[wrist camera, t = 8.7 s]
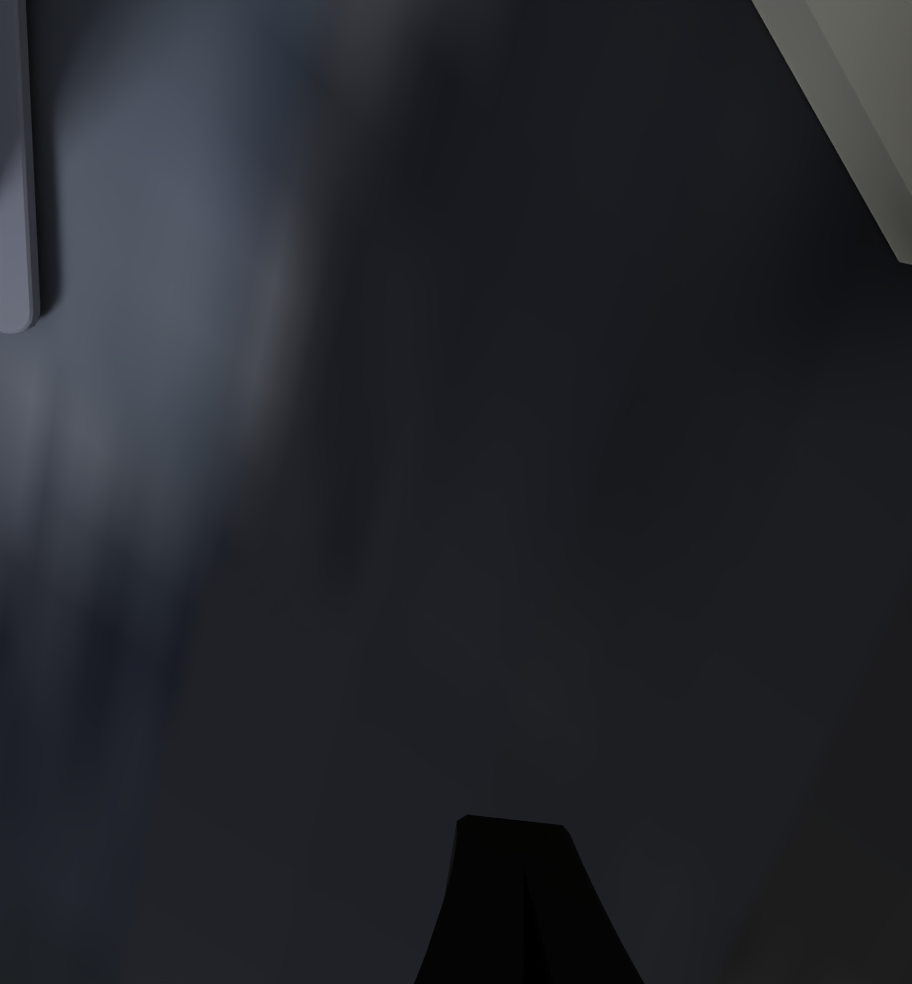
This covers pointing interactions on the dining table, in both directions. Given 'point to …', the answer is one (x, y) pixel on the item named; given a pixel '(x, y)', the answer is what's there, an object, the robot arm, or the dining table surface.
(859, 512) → the dining table surface
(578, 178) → the dining table surface
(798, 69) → the mount board
